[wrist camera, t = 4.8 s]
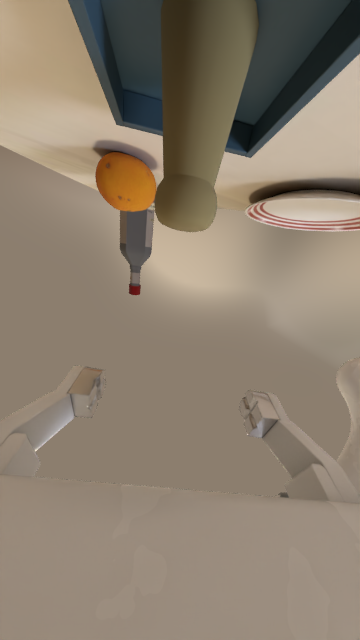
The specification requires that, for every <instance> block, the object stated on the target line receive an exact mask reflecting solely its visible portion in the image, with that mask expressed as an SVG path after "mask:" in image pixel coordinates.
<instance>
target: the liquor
mask: <svg viewBox="0 0 360 640" xmlns="http://www.w3.org/2000/svg"><path fill="white" fill-rule="evenodd" d="M154 203H155V199H154V201H153V203H152V204H151V206H150V207H149V208H147V209H146V210H142V211H135V212H131V211H122V210H120V250H121V253H122V254H123V256H124V257H125V258H126V260H127V261H128V263H129V264H130V269H131V277H130V279H131V281H130V284H129V293H130V294H132V295H139V294H140V285H139V283H140V270H141V266H142V265H143V263H144V262H145V261H146V260H147V259H148V258H149V257H150V255H151V250H152V235H153V221H154V208H155V205H154Z"/></svg>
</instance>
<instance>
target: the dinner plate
mask: <svg viewBox="0 0 360 640" xmlns="http://www.w3.org/2000/svg"><path fill="white" fill-rule="evenodd" d="M245 214H246V215H247V216H248V217H249V218H251V219H253V220H255V221H258V222H261V223H264V224H268V225H272V226H277V227H282V228H289V229H297V230H311V231H354V230H360V195H357V194H353V193H349V192H342V191H333V190H300V191H293V192H287V193H283V194H279V195H276V196H274V197H271V198H267V199H264V200H261V201H259V202H256V203H254V204H251V205H250V206H248V207H247V208H246V209H245Z"/></svg>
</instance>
